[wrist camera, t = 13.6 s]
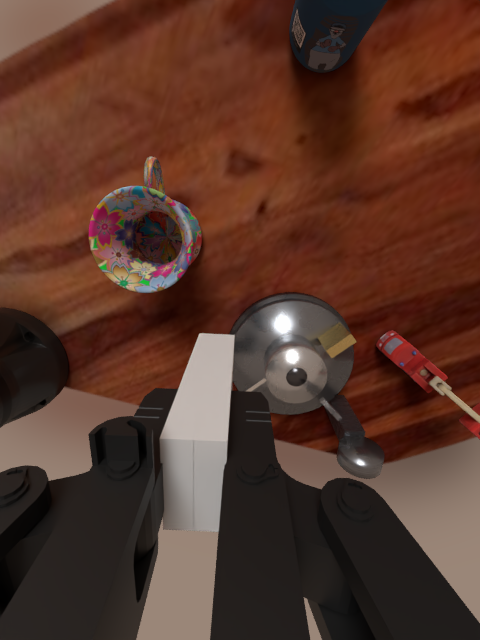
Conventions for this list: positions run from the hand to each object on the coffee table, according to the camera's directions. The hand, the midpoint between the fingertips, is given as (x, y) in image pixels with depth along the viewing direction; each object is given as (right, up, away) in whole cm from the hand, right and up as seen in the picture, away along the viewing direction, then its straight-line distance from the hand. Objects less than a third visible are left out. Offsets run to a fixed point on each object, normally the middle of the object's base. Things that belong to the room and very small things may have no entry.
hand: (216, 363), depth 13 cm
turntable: (+8, -3, +27) cm, 29 cm away
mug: (-8, +13, +24) cm, 28 cm away
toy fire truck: (+25, -4, +29) cm, 39 cm away
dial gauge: (+14, -9, +31) cm, 35 cm away
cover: (+8, -3, +26) cm, 27 cm away
